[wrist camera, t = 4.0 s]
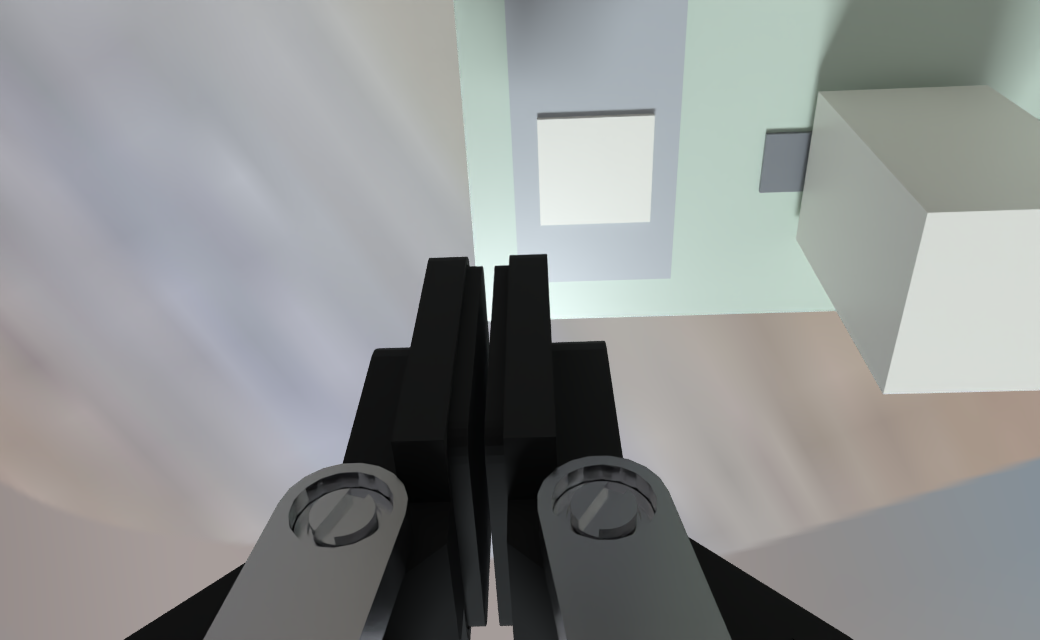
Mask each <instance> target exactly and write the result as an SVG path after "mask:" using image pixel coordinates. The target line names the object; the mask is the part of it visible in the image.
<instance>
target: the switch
mask: <svg viewBox="0 0 1040 640" xmlns="http://www.w3.org/2000/svg"><path fill="white" fill-rule="evenodd" d="M796 240H797V242H798V244H799V246H800V247H801V249H802V251H803V253H804V255H805V256H806V258H807V260H808V262H809V263H810V265H811V267H812V269H813V271H814V272H815V274H816V276H817V278H818V279H819V281H820V283H821V285H822V286H823V288H824V290H825V292H826V294H827V295H828V297H829V299H830V301H831V302H832V304H833V306H834V308H835V310H836V311H837V313H838V315H839V317H840V318H841V320H842V322H843V324H844V325H845V327H846V329H847V331H848V333H849V334H850V336H851V338H852V340H853V341H854V343H855V345H856V347H857V349H858V350H859V352H860V354H861V356H862V357H863V359H864V361H865V363H866V364H867V366H868V368H869V370H870V372H871V373H872V375H873V377H874V379H875V380H876V382H877V384H878V386H879V388H880V389H881V391H882V393H883V394H908V393H948V392H988V391H1027V390H1040V120H1038V119H1037V118H1035V117H1034V116H1032V115H1031V114H1029V113H1028V112H1026V111H1025V110H1024V109H1022V108H1021V107H1019V106H1018V105H1016V104H1015V103H1013V102H1012V101H1010V100H1009V99H1007V98H1006V97H1005V96H1003V95H1002V94H1000V93H999V92H997V91H996V90H994V89H993V88H991V87H990V86H988V85H975V86H949V87H922V88H896V89H870V90H843V91H818V98H817V105H816V111H815V118H814V124H813V131H812V137H811V144H810V150H809V157H808V163H807V170H806V176H805V183H804V189H803V196H802V202H801V209H800V215H799V222H798V228H797V235H796Z"/></svg>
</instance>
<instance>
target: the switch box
mask: <svg viewBox="0 0 1040 640" xmlns="http://www.w3.org/2000/svg"><path fill="white" fill-rule="evenodd" d="M454 12H455V24H456V36H457V48H458V60H459V72H460V84H461V96H462V108H463V121H464V133H465V145H466V157H467V169H468V181H469V193H470V205H471V217H472V229H473V241H474V253H475V265H476V266H483V269H484V279H485V292H486V306H487V319H488V321H491V314H492V298H493V282H494V267H495V266H500V265H509V255H528V254H547V259H548V280H549V300H550V319H572V318H607V317H641V316H676V315H711V314H746V313H780V312H815V311H836V310H835V308H834V306H833V304H832V302H831V301H830V299H829V297H828V295H827V294H826V292H825V290H824V288H823V286H822V285H821V283H820V281H819V279H818V278H817V276H816V274H815V272H814V271H813V269H812V267H811V265H810V263H809V262H808V260H807V258H806V256H805V255H804V253H803V251H802V249H801V247H800V246H799V244H798V242H797V240H796V235H797V228H798V222H799V215H800V209H801V202H802V196H803V189H804V183H805V176H806V170H807V163H808V157H809V150H810V144H811V137H812V131H813V124H814V118H815V111H816V105H817V98H818V91H843V90H870V89H896V88H922V87H949V86H975V85H988V86H990V87H991V88H993V89H994V90H996V91H997V92H999V93H1000V94H1002V95H1003V96H1005V97H1006V98H1007V99H1009V100H1010V101H1012V102H1013V103H1015V104H1016V105H1018V106H1019V107H1021V108H1022V109H1024V110H1025V111H1026V112H1028V113H1029V114H1031V115H1032V116H1034V117H1035V118H1037V119H1038V120H1040V0H454Z"/></svg>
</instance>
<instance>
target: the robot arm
mask: <svg viewBox="0 0 1040 640" xmlns="http://www.w3.org/2000/svg"><path fill="white" fill-rule="evenodd" d="M491 532H492V544H493V555H494V567H495V578H496V589H497V601H498V612H499V623H500V626H510V625H511V626H513V634H514V640H853V639H851V638H850V637H849V636H847V635H846V634H844V633H842V632H841V631H839V630H838V629H835V628H834V627H833V626H831V625H829V624H828V623H826V622H825V621H823V620H821V619H820V618H818V617H817V616H815V615H813V614H812V613H810V612H808V611H807V610H805V609H803V608H802V607H800V606H799V605H797V604H795V603H794V602H792V601H791V600H789V599H788V598H786V597H784V596H782V595H781V594H779V593H778V592H776V591H775V590H773V589H771V588H770V587H768V586H767V585H765V584H763V583H762V582H760V581H758V580H757V579H755V578H754V577H752V576H750V575H749V574H747V573H745V572H744V571H742V570H741V569H739V568H738V567H736V566H734V565H733V564H731V563H729V562H728V561H726V560H725V559H723V558H721V557H720V556H718V555H717V554H715V553H713V552H712V551H710V550H708V549H707V548H705V547H704V546H702V545H700V544H699V543H697V542H696V541H694V540H692V539H691V538H689V537H688V536H687V533H686V531H685V528H684V526H683V524H682V521H681V519H680V517H679V514H678V512H677V510H676V507H675V505H674V502H673V500H672V498H671V495H670V493H669V491H668V489H667V488H666V486H665V485H664V483H663V482H662V480H661V479H660V478H659V477H658V476H657V475H656V474H654V473H653V472H652V471H650V470H649V469H648V468H647V467H645V466H643V465H640V464H638V463H636V462H634V461H631V460H629V459H624V458H623V455H622V449H621V442H620V435H619V428H618V422H617V415H616V408H615V401H614V395H613V388H612V381H611V374H610V368H609V361H608V354H607V348H606V343H605V341H587V342H558V343H552V340H551V320H550V300H549V280H548V259H547V254H528V255H509V265H500V266H495V267H494V282H493V298H492V314H491V330H490V345H489V332H488V319H487V306H486V292H485V279H484V269H483V266H472V267H470V266H469V259H468V257H446V258H429V260H428V264H427V269H426V274H425V279H424V284H423V289H422V293H421V298H420V303H419V308H418V313H417V318H416V323H415V327H414V332H413V337H412V342H411V347H409V348H379V349H376V350H374V352H373V355H372V357H371V361H370V365H369V368H368V372H367V376H366V379H365V383H364V387H363V390H362V394H361V398H360V402H359V405H358V409H357V413H356V416H355V420H354V424H353V427H352V431H351V435H350V438H349V442H348V446H347V449H346V453H345V457H344V461H343V464H339V465H335V466H331V467H327V468H323V469H321V470H319V471H316V472H314V473H312V474H310V475H308V476H306V477H304V478H303V479H301V480H300V481H299V482H297V483H296V484H295V485H294V486H292V487H291V488H290V489H289V490H288V491H287V493H286V494H285V495H284V496H283V498H282V499H281V500H280V502H279V503H278V505H277V507H276V508H275V510H274V512H273V514H272V516H271V517H270V519H269V521H268V523H267V525H266V527H265V528H264V530H263V532H262V534H261V536H260V537H259V539H258V541H257V543H256V545H255V547H254V548H253V550H252V552H251V554H250V556H249V558H248V559H247V561H246V563H244V564H242V565H241V566H240V567H238V568H236V569H235V570H233V571H231V572H230V573H228V574H227V575H225V576H224V577H222V578H220V579H219V580H217V581H216V582H214V583H213V584H211V585H209V586H208V587H206V588H205V589H203V590H202V591H200V592H198V593H197V594H195V595H194V596H192V597H190V598H189V599H187V600H186V601H184V602H182V603H181V604H179V605H178V606H176V607H175V608H173V609H171V610H170V611H168V612H167V613H165V614H163V615H162V616H161V617H159V618H157V619H156V620H154V621H153V622H151V623H149V624H148V625H146V626H145V627H143V628H141V629H140V630H138V631H137V632H135V633H133V634H132V635H131V636H129V637H127V638H126V639H124V640H470V634H471V627H473V626H486V624H487V611H488V590H489V568H490V546H491Z"/></svg>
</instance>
